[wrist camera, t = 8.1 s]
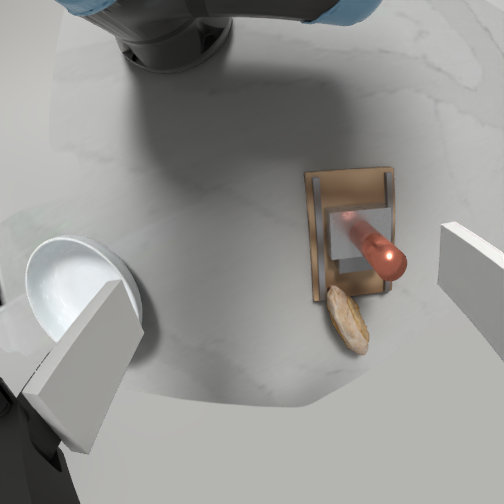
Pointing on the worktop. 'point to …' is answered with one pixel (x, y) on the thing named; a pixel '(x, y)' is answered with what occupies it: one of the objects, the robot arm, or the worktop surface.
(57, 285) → the serving bowl
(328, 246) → the copper peg on base
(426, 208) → the worktop surface
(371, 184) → the railed wooden base plate
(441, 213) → the worktop surface
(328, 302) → the tan elongated oval piece
